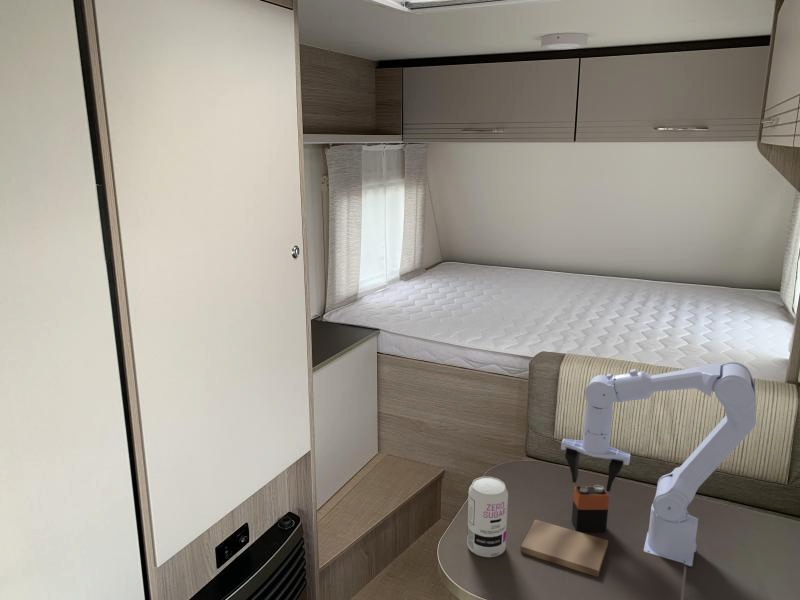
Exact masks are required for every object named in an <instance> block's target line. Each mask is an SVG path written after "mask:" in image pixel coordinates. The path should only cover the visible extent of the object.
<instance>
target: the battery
mask: <svg viewBox="0 0 800 600" xmlns="http://www.w3.org/2000/svg"><path fill="white" fill-rule="evenodd" d="M609 503H610V494H609V493H608V491H606V488H605V487H604V486H603V485H600V484H594V485H593V486H592V485H589V486H588V485H587V486H585V485H580V486H579V485H578V486H577V485H576V486H574V487H573V498H572V508H571V509H572V512H571V522H572V524H573V526H574V529H575V531H577V532H581V533H587V532H588V533H589V532H606V531H607V523H608V515H609Z"/></svg>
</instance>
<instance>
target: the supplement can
mask: <svg viewBox="0 0 800 600" xmlns="http://www.w3.org/2000/svg"><path fill="white" fill-rule="evenodd" d="M467 498H468V500H467V504H468V505H467V530H466V531H467V533H466V536H467V537H466V538H467V539H466V545H467V548H468V549H469V550H470V551H471V553H473V554H475V555H476V556H479V557H482V558H483V557H484V558H494V557H495V558H496V557H498V556H500V555H502V554H503V553H504V552H505V551H506V547H507V544H506V543H507V542H506V541H507V525H508V524H507V523H508V506H509V505H508V503H509V491H508V490H507V487H506V484H505V482H504V481H502V480H501V479H499V478H497V477H494V476H480V477H478V478H477V477H476V478H475V479H474V480H472V484H471V485H470V486H469V489H468V497H467Z"/></svg>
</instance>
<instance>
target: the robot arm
mask: <svg viewBox="0 0 800 600" xmlns="http://www.w3.org/2000/svg"><path fill="white" fill-rule="evenodd" d="M688 389H689V390H691V389H695V390H698V391H699V392H701V393H703V394H705V395H706V396H707V397H711V398H712V392H714V394H715V397H716V399H717V400H718V401H719V402H720V404H721V405H722V406H723V409H724V413H725V416H724V417H723V418H722V419H721V421H719V422H718V424H717V425H716V426H715V427H714V429H712V430H711V432H710V433H709V434H708V435H707V436H706V437H705V438H704V439H703V441H702V442H701V443H700V444H699V445H698V446H697V447H696V448H695V449H694V451H693V452H692V453H691V454H690V455H689V456H688V457H687V458H686V460H685V461H684V462H683V463H682V464H681V465H680V466H677V467H675V468H674V469H673V470H672V471H671V472H669V473H667V474H664V475H662V476H660V477H659V479H658V481H657V483H656V491H655V496H654V499H653V502H652V504H651V508H650V516H649V525H648V531H647V533H646V536H645V543H644V546H643V547H644V548H643V552H645V553H647V554H651V555H654V556H657V557H661V558H664V559H668V560H671V561H675V562H679V563H682V564H684V566H687V567H693V564H694V555H695V553H696V551H697V545H698V544H697V543H696V541H697V540H696V539H697V532H698V525H699V518H698V517H695V516H693V515H691V514H690V513H689V511H688V509H687V508H688V506H689V505H690V503H692V501H693V500H694V498H695V495H696V493H697V491H698V489H699V488H700V487H701V485H702V484H703V483H704V482H705V481H706V480H707V479H708V478H709V477H710V476H711V475H712V474H713V473H714V472H715V471H716V469H718V467H719V466H720V465H721V464H722V462H724V461H725V460H726V458H728V456H729V455H731V453H732V452H733V451H734V450H735V449H736V448H737V447H738V446H739V445H740V443H742V442H743V440H744V439H745V438H746V437H747V436H748V435H749V434H750V433H751V432H752V430H754V429H755V427H756V425H757V394H756V385H755V381H754V378H753V375H752V373H751V371H750V370H749V369H748V367H747V366H745V365H744V364H743V363H740V362H738V361H727V362H724V363H722V364H721V363H720V362H713V363H710V364H705V365H701V366H696V367H691V368H690V367H689V368H685V369H680V370H673V371H669V372H664V373H659V374H654V375H651V374H650V373H647V372H646V371H643V370H642V371H638V370H637V368H634V369H630V370H629V372H628V373H622V374H621V373H620V374H614V375H613V373H608V374H607V375H605V374H598V375H595V376H594V377H593V378H591V380H590V381H589V382H588V385H587V386H586V388H585V392H584V397H585V400H586V403H585V404H586V406H585V409H584V419H583V431H582V439H581V440H578V439H568V438H562V441H561V445H560V450H562V451H565V454H564V456H565V457H564V458H565V459H566V462H567V464H568V466H569V469H570V470H569V471H570V475H571V477H572V478H571V479H572V481H571V482H572V483H575V484H576V483H577V481H578V476H579V462H580V456H581V454H584V455H586V456H589V457H592V458H600V459H601V458H602V459H604V460H605V459H606V460H610V463H609V465H608V477H607V478H608V479H607V485H606V489H605V491H606V492H609V493H610V492H611V489H612V485H613V482H614V480H615V478H616V477H617V476H618V474H619V473H620V472H621V470H622V468H623V465H626V466H629V465H630V461H631V453H629V452H626V451H625V452H624V451H623V450H619V449H618V448H616V447H612V446H610V444H611V443H610V442H611V433H612V424H613V416H614V414H613V413H614V411H613V406H614V405H613V404H614V403H623V402H630V401H638V400H645V399H646V400H647V399H649V398H651V397H652V396H653V393H655V392H665V391H677V390H688Z"/></svg>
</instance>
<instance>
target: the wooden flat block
mask: <svg viewBox="0 0 800 600" xmlns="http://www.w3.org/2000/svg"><path fill="white" fill-rule="evenodd" d="M608 545H609V540H608V539H605V538H601V537H598V536H594V535H590V534H588V533H585V532H579V531H577V530H574V529H570V528H566V527H564V526H563V527H562V526H559V525H556V524H553V523H550V522H547V521H542V520H539V519H534V521H533V523H532V524H531V526H530V528H529V530H528V533H527V534H526V536H525V538H524V539H523V542H522V543H521V545H520V553H523V554H525V555H528V556H531V557H534V558H537V559H539V560H540V559H541V560H543V561H546V562H550V563H553V564H554V565H555V564H556V565H559V566H562V567H564V568H568V569H571V570H573V571H574V570H575V571H578V572H581V573H583V574H584V573H585V574H587V575H590V576H593V577H597V578H598V577H599V575H600V573H601V569H602V567H603V566H602V565H603V562H604V559H605V555H606V553H607V550H608Z"/></svg>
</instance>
